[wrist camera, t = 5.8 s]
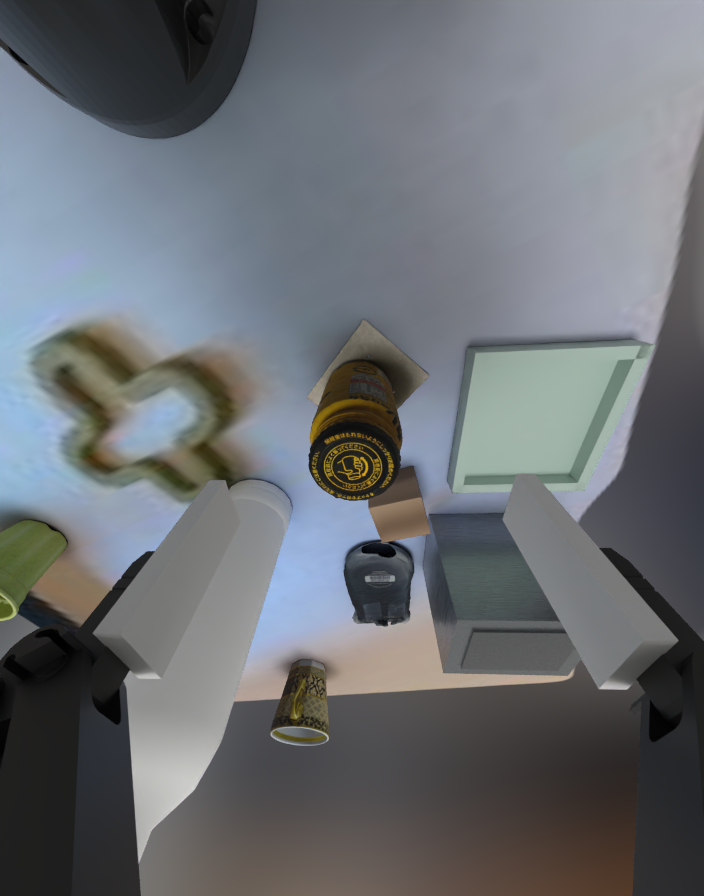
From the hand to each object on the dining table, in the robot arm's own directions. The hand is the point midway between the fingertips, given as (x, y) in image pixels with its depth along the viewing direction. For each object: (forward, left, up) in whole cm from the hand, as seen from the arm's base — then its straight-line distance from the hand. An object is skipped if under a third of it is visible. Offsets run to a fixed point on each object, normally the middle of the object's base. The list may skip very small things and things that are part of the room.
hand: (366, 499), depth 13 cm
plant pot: (+19, -44, -15) cm, 50 cm away
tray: (+4, +15, -15) cm, 21 cm away
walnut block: (+12, +3, -15) cm, 19 cm away
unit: (+21, +13, -15) cm, 28 cm away
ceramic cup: (+56, -13, -15) cm, 59 cm away
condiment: (0, 0, -15) cm, 15 cm away
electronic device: (+28, +1, -15) cm, 31 cm away
